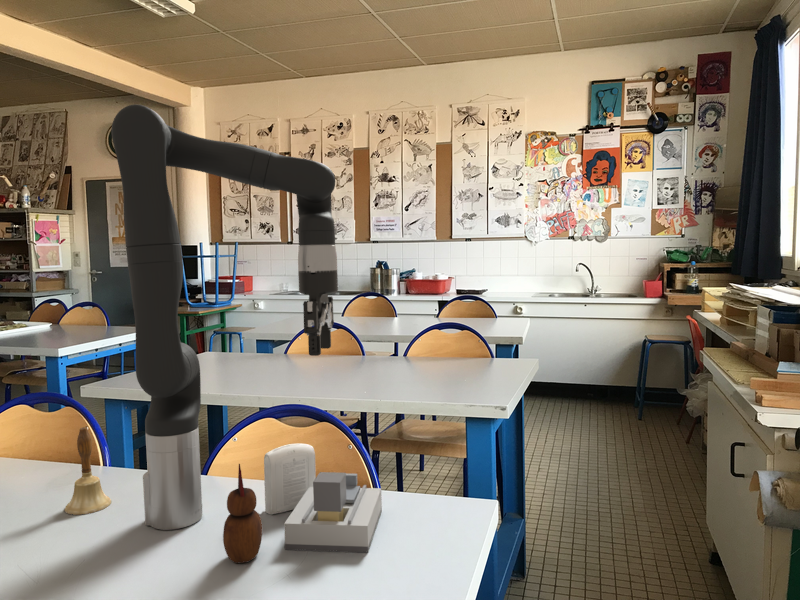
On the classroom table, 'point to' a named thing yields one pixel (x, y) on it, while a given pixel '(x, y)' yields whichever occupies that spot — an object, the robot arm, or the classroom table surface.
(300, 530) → the socket
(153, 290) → the robot arm
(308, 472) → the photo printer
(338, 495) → the plug
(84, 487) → the hand bell
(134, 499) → the classroom table surface
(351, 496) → the shutter
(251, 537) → the wooden figurine
